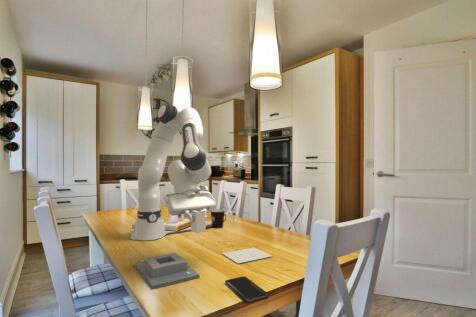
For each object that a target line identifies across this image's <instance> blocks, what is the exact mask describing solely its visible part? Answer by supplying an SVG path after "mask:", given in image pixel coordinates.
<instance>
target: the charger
mask: <svg viewBox="0 0 476 317" xmlns="http://www.w3.org/2000/svg"><path fill="white" fill-rule="evenodd" d="M190 215H191V216H194V218H195V221H194V222H190V223H191V224H190V230H191V232H192V233H196V234H200V233H201V234H202V233H206V231H207V230H206V226H207V224H206V221H207V220H206V215H207V212H206V211H205V210H201V209H196V210H191V213H190Z"/></svg>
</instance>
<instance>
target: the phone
mask: <svg viewBox="0 0 476 317" xmlns="http://www.w3.org/2000/svg"><path fill="white" fill-rule="evenodd" d="M224 282H225V285H226V286H227V287H228V288H229V289H230V290H231V291H232V292H233V293H234V294H235V295H236V296H237V297H239V299H240V300H242V301H243V302H244V303H247V304H248V303H253V302H257V301H260V300H264V299H267V298H268V297H269V294H268V292H267V291H265V290H264V289H263V288H262V287H260V286H259V285H257V283H255V282H254V281H252V280H251V279H250V278H248V277H247V276H244V275H243V276H239V277H238V276H237V277H234V278H230V279H229V278H228V279H225V281H224Z"/></svg>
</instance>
